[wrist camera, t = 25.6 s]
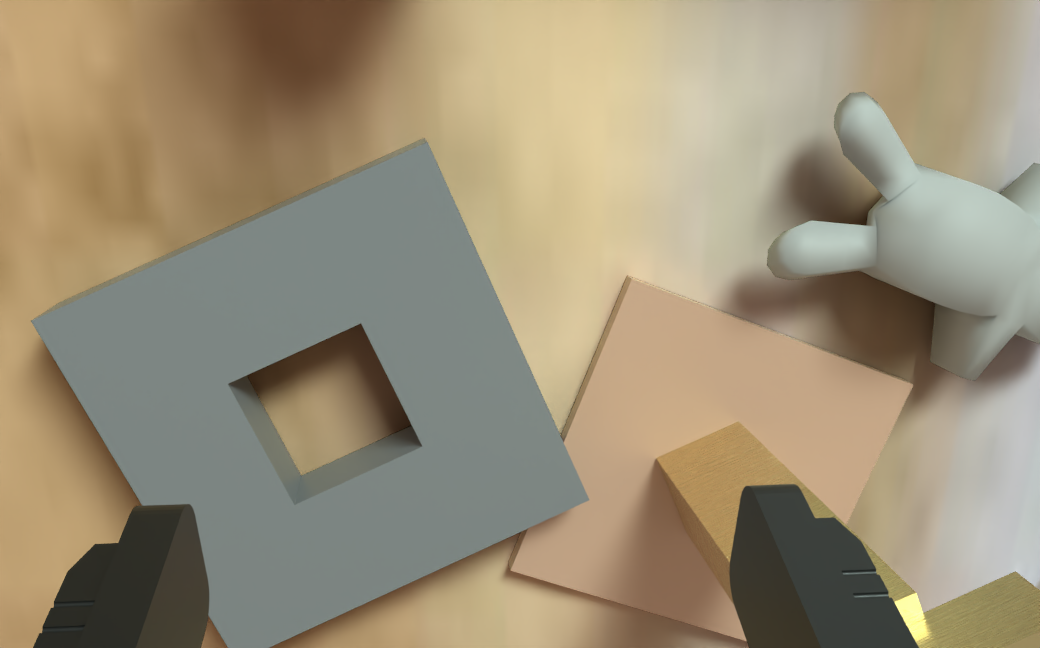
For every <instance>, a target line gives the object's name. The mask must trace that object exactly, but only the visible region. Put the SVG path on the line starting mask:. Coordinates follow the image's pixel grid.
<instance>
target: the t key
mask: <svg viewBox="0 0 1040 648" xmlns="http://www.w3.org/2000/svg"><path fill="white" fill-rule="evenodd" d="M656 460H657V462H658V465H659V467H660V469H661V472H662V474H663V477H664V479H665V482H666V484H667V487H668V489H669V491H670V494H671V496H672V499H673V501H674V504H675V506H676V509H677V511H678V513H679V516H680V518H681V521H682V523H683V526H684V528H685V531H686V533H687V535H688V536H689V538H690V539H691V541H692V542H693V544H694V545H695V547H696V548H697V550H698V551H699V553H700V554H701V556H702V557H703V559H704V561H705V562H706V564H707V565H708V567H709V568H710V570H711V571H712V573H713V574H714V576H715V577H716V579H717V580H718V582H719V583H720V585H721V586H722V588H723V589H724V591H725V592H726V594H727V595H728V597H729V598H730V600H731V602H732V603H733V599H732V594H731V587H730V575H729V568H730V558H731V552H732V546H733V540H734V534H735V528H736V522H737V516H738V510H739V504H740V498H741V494H742V491H743V489H744V487H745V486H751V485H778V484H796V485H797V486H798V487H799V488H800V489H801V491H802V493H803V495H804V497H805V499H806V501H807V503H808V505H809V507H810V509H811V511H812V513H813V515H814V517H815V518H832V517H834V518H836V519H837V520H838V521H839V522H840V523H841V524H842V525H843V526H845V527H846V528H847V529H848V530H849V531H850V532H851V533H852V534H854V535H855V536H856V537H857V538H858V539H859V540H860V541H861V542H862V544H863V545H864V547H865V549H866V551H867V553H868V555H869V556H870V558H871V560H872V562H873V564H874V566H875V567H876V573H877V575H880V577H881V579H882V580H883V582H884V584H885V586H886V588H887V590H888V591H889V593H888V594H889V598H892V599H893V601H894V603H895V604H896V606H897V608H898V610H899V612H900V614H901V615H902V617H903V619H904V621H905V623H906V625H907V627H908V628H909V630H910V632H911V634H912V636H913V638H914V639H915V641H916V643H917V645H918V647H919V648H1040V590H1039V589H1037V588H1036V587H1035V586H1034V585H1032V584H1031V583H1030V582H1028V581H1027V580H1026V579H1025V578H1023V577H1022V576H1021V575H1019V574H1018V573H1017V572H1016V571H1015V572H1013V573H1011V574H1009V575H1006V576H1004V577H1002V578H1000V579H997V580H995V581H993V582H991V583H989V584H986V585H984V586H982V587H980V588H978V589H975V590H973V591H971V592H969V593H967V594H964V595H962V596H960V597H958V598H955V599H953V600H951V601H949V602H947V603H944V604H942V605H940V606H938V607H936V608H933V609H931V610H929V611H927V612H925V613H923V612H922V609H921V606H920V603H919V600H918V597H917V594H916V592H915V591H914V590H913V589H912V588H911V587H910V586H909V585H908V584H907V583H906V582H905V581H904V580H902V579H901V578H900V577H899V576H898V575H897V574H896V573H895V572H894V571H893V570H892V569H891V568H890V567H889V566H888V565H887V564H886V563H885V562H884V561H883V560H882V559H881V558H880V557H879V556H878V555H877V554H876V553H875V552H874V551H872V550H871V549H870V548H869V547H868V546H867V545H866V544H865V543H864V542H863V541H862V540H861V539H860V538H859V537H858V536H857V535H856V534H855V533H854V532H853V531H852V530H851V529H850V528H849V527H848V526H847V525H846V524H845V523H844V522H842V521H841V520H840V519H839V518H838V517H837V516H836V515H835V514H834V513H833V512H832V511H831V510H830V509H829V508H828V507H827V506H826V505H825V504H824V503H823V502H822V501H821V500H820V499H819V498H818V497H817V496H816V495H815V494H814V493H813V492H811V491H810V490H809V489H808V488H807V487H806V486H805V485H804V484H803V483H802V482H801V481H800V480H799V479H798V478H797V477H796V476H795V475H794V474H793V473H792V472H791V471H790V470H789V469H788V468H787V467H786V466H785V465H784V464H783V463H781V462H780V461H779V460H778V459H777V458H776V457H775V456H774V455H773V454H772V453H771V452H770V451H769V450H768V449H767V448H766V447H765V446H764V445H763V444H762V443H761V442H760V441H759V440H758V439H757V438H756V437H755V436H754V435H753V434H751V433H750V432H749V431H748V430H747V429H746V428H745V427H744V426H743V425H742V424H741V423H740V422H739V421H738V422H736V423H733V424H731V425H729V426H727V427H724V428H722V429H720V430H718V431H715V432H713V433H711V434H709V435H707V436H704V437H702V438H700V439H698V440H695V441H693V442H691V443H689V444H686V445H684V446H682V447H680V448H677V449H675V450H673V451H671V452H668V453H666V454H664V455H662V456H659V457H657V458H656ZM733 605H734V603H733Z"/></svg>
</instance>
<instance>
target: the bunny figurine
mask: <svg viewBox="0 0 1040 648" xmlns="http://www.w3.org/2000/svg"><path fill="white" fill-rule="evenodd" d="M834 128H835V131H836V133H837V135H838V138H839V140H840V144H841V147H842V151H843V154H844V155H845V156H846V157H847V158H848V159H849V160H850V161H851V162H852V163H853V165H854V166H855V167H856V168H857V169H858V170H859V171H860V172H861V173H862V174H863V175H864V176H865V177H866V178H867V179H868V180H869V181H870V182H871V183H872V184H873V185H874V186H875V187H876V188H877V189H878V190H879V191H880V193H881V194H882V195H883V196H882V197H881V199H880V200H879V201H878V202H877V203H876V204H875V205H874V206H873V207H872V208H871V210H870V211H869V212H868V218H867V224H866V226H864V225H854V224H843V223H832V222H821V221H809V222H806V223H804V224H801V225H799V226H796V227H794V228H792V229H790V230H788V231H785V232H783V233H782V234H781V235H780V236H779V237H778V238H776V239H775V240H774V242H773V243H772V245H771V246H770V248H769V249H768V258H767V266H768V267H769V269H770V270H771V271H772V273H773V274H774V276H775V277H779V278H783V279H788V280H794V279H802V278H809V277H816V276H824V275H831V274H838V273H846V272H853V271H861V272H864V273H866V274H868V275H869V276H871V277H873V278H875V279H878V280H880V281H882V282H885V283H887V284H890V285H892V286H895V287H897V288H900V289H902V290H905V291H907V292H909V293H912V294H914V295H917V296H919V297H922V298H924V299H927V300H929V301H932V302H934V303H935V315H934V325H933V336H932V346H931V357H930V362H932V363H934V364H936V365H938V366H940V367H942V368H944V369H946V370H948V371H950V372H952V373H954V374H956V375H958V376H960V377H962V378H965V379H969V380H973V381H975V380H976V379H977V378H978V377H979V375H980V374H981V373H982V372H983V371H984V370H985V368H986V367H987V366H988V365H989V364H990V362H991V361H992V360H993V359H994V358H995V357H996V355H997V354H998V353H999V352H1000V351H1001V349H1002V348H1003V347H1004V346H1005V345H1006V344H1007V342H1008V341H1009V340H1010V339H1011V338H1012V337H1013V336H1014V335H1015V334H1016V335H1018V336H1021V337H1023V338H1026V339H1028V340H1030V341H1033V342H1035V343H1038V344H1040V164H1037V163H1034V164H1032V165H1031V166H1030V167H1029V168H1028V169H1027V170H1026V171H1025V172H1024V173H1023V174H1021V175H1020V176H1019V177H1018V178H1017V179H1016V180H1015V181H1014V182H1013V183H1012V184H1011V185H1009V186H1008V187H1007V188H1006V189H1005V190H1004V191H1003V192H1002V193H1001V194H999V193H996V192H994V191H992V190H989V189H987V188H984V187H982V186H979V185H977V184H974V183H971V182H968V181H965V180H962V179H959V178H956V177H953V176H951V175H948V174H945V173H942V172H939V171H936V170H933V169H930V168H927V167H924V166H921V165H919V164H916V163H914V162H913V160H912V159H911V157H910V155H909V154H908V152H907V150H906V148H905V147H904V145H903V143H902V142H901V140H900V138H899V137H898V135H897V133H896V131H895V130H894V128H893V126H892V125H891V123H890V121H889V120H888V118H887V116H886V115H885V113H884V112H883V110H882V109H881V107H880V105H879V104H878V102H877V101H875V100H874V99H873V98H871V97H870V96H869V95H868V94H866V93H865V92H860V93H850V94H849V95H848V96H846V97H845V98H844V99H843V100H842V101H841V102H840V103H839V104H838V107H837V110H836V112H835V118H834Z"/></svg>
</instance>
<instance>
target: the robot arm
mask: <svg viewBox="0 0 1040 648" xmlns="http://www.w3.org/2000/svg"><path fill="white" fill-rule="evenodd" d="M729 575H730V587H731V594H732V599H733V603H734V606H735V609H736V612H737V615H738V617H739V620H740V623H741V626H742V629H743V632H744V635H745V637H746V640H747V643H748V646H749V648H919V647H918V645H917V643H916V641H915V639H914V638H913V636H912V634H911V632H910V630H909V628H908V627H907V625H906V623H905V621H904V619H903V617H902V615H901V614H900V612H899V610H898V608H897V606H896V604H895V603H894V601H893V599H892V598H889V594H888V593H889V591H888V590H887V588H886V586H885V584H884V582H883V580H882V579H881V577H880V575H877V573H876V567H875V566H874V564H873V562H872V560H871V558H870V556H869V555H868V553H867V551H866V549H865V547H864V545H863V544H862V542H861V541H860V540H859V539H858V538H857V537H856V536H855V535H854V534H852V533H851V532H850V531H849V530H848V529H847V528H846V527H845V526H843V525H842V524H841V523H840V522H839V521H838V520H837V519H836V518H834V517H832V518H815V517H814V515H813V513H812V511H811V509H810V507H809V505H808V503H807V501H806V499H805V497H804V495H803V493H802V491H801V489H800V488H799V487H798V486H797V485H796V484H778V485H751V486H745V487H744V489H743V491H742V494H741V498H740V504H739V510H738V516H737V522H736V528H735V534H734V540H733V546H732V552H731V558H730V568H729ZM208 613H209V583H208V577H207V572H206V567H205V562H204V557H203V552H202V547H201V542H200V537H199V532H198V527H197V522H196V517H195V513H194V510H193V508H192V506H191V505H190V504H175V505H147V506H136V507H135V508H134V509H133V510H132V512H131V514H130V516H129V518H128V521H127V523H126V526H125V528H124V530H123V533H122V535H121V538H120V540H119V543H111V544H95V545H94V546H93V547H92V548H91V549H90V550H89V551H88V552H87V553H86V554H85V555H84V556H83V557H82V558H81V559H80V560H79V561H78V562H77V563H76V564H75V565H74V566H73V567H72V568H71V569H70V570H69V571H68V572H67V574H66V576H65V579H64V581H63V583H62V585H61V587H60V590H59V592H58V594H57V596H56V598H55V601H54V608H51V609H50V612H49V614H48V616H47V618H46V620H45V623H44V625H43V631H42V633H39V636H38V638H37V640H36V642H35V644H34V647H33V648H201V645H202V641H203V637H204V634H205V630H206V626H207V621H208Z"/></svg>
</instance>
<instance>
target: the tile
mask: <svg viewBox="0 0 1040 648" xmlns="http://www.w3.org/2000/svg"><path fill="white" fill-rule="evenodd" d="M912 387H913V384H911V383H909V382H908V381H906V380H904V379H901V378H899V377H896V376H893V375H891V374H888V373H885V372H883V371H880V370H877V369H875V368H872V367H869V366H867V365H864V364H861V363H859V362H856V361H853V360H851V359H848V358H845V357H843V356H840V355H837V354H835V353H832V352H829V351H827V350H824V349H821V348H819V347H816V346H814V345H811V344H808V343H806V342H803V341H800V340H798V339H795V338H792V337H790V336H787V335H784V334H782V333H779V332H776V331H774V330H771V329H768V328H766V327H763V326H760V325H758V324H755V323H752V322H750V321H747V320H744V319H742V318H739V317H736V316H734V315H731V314H728V313H726V312H723V311H720V310H718V309H715V308H712V307H710V306H707V305H704V304H702V303H699V302H696V301H694V300H691V299H688V298H686V297H683V296H680V295H678V294H675V293H672V292H670V291H667V290H664V289H662V288H659V287H656V286H654V285H651V284H648V283H646V282H643V281H640V280H638V279H635V278H632V277H630V276H627V278H626V280H625V282H624V285H623V287H622V290H621V292H620V294H619V297H618V299H617V302H616V304H615V307H614V309H613V311H612V314H611V316H610V319H609V321H608V323H607V326H606V328H605V331H604V333H603V335H602V338H601V340H600V343H599V345H598V347H597V350H596V352H595V355H594V357H593V360H592V362H591V364H590V367H589V369H588V372H587V374H586V376H585V379H584V381H583V384H582V386H581V388H580V391H579V393H578V396H577V398H576V400H575V403H574V405H573V408H572V410H571V413H570V415H569V417H568V420H567V422H566V425H565V427H564V429H563V432H562V434H561V438H562V440H563V443H564V445H565V447H566V449H567V451H568V454H569V456H570V458H571V460H572V462H573V465H574V467H575V469H576V471H577V473H578V476H579V478H580V480H581V482H582V484H583V487H584V489H585V491H586V493H587V495H588V498H589V501H587V502H584V503H582V504H580V505H578V506H576V507H574V508H571V509H569V510H567V511H565V512H563V513H561V514H558V515H556V516H554V517H552V518H550V519H547V520H545V521H543V522H541V523H539V524H537V525H534V526H532V527H530V528H528V529H526V530H524V531H521V533H520V535H519V538H518V540H517V543H516V545H515V547H514V550H513V552H512V555H511V557H510V560H509V567H510V571H513V572H517V573H520V574H523V575H527V576H530V577H533V578H537V579H540V580H543V581H547V582H550V583H553V584H557V585H560V586H563V587H567V588H570V589H574V590H577V591H580V592H584V593H587V594H590V595H594V596H597V597H600V598H604V599H607V600H610V601H614V602H617V603H620V604H624V605H627V606H630V607H634V608H637V609H640V610H644V611H647V612H650V613H654V614H657V615H660V616H664V617H667V618H670V619H674V620H677V621H680V622H684V623H687V624H690V625H694V626H697V627H701V628H704V629H707V630H711V631H714V632H717V633H721V634H724V635H727V636H731V637H734V638H737V639H741V640H744V641H747V640H746V637H745V635H744V632H743V629H742V626H741V623H740V620H739V617H738V615H737V612H736V609H735V606H734V605H733V603H732V602H731V600H730V598H729V597H728V595H727V594H726V592H725V591H724V589H723V588H722V586H721V585H720V583H719V582H718V580H717V579H716V577H715V576H714V574H713V573H712V571H711V570H710V568H709V567H708V565H707V564H706V562H705V561H704V559H703V557H702V556H701V554H700V553H699V551H698V550H697V548H696V547H695V545H694V544H693V542H692V541H691V539H690V538H689V536H688V535H687V533H686V531H685V528H684V526H683V523H682V521H681V518H680V516H679V513H678V511H677V509H676V506H675V504H674V501H673V499H672V496H671V494H670V491H669V489H668V487H667V484H666V482H665V479H664V477H663V474H662V472H661V469H660V467H659V465H658V462H657V460H656V458H657V457H659V456H662V455H664V454H666V453H668V452H671V451H673V450H675V449H677V448H680V447H682V446H684V445H686V444H689V443H691V442H693V441H695V440H698V439H700V438H702V437H704V436H707V435H709V434H711V433H713V432H715V431H718V430H720V429H722V428H724V427H727V426H729V425H731V424H733V423H736V422H738V421H739V422H740V423H741V424H742V425H743V426H744V427H745V428H746V429H747V430H748V431H749V432H750V433H751V434H753V435H754V436H755V437H756V438H757V439H758V440H759V441H760V442H761V443H762V444H763V445H764V446H765V447H766V448H767V449H768V450H769V451H770V452H771V453H772V454H773V455H774V456H775V457H776V458H777V459H778V460H779V461H780V462H781V463H783V464H784V465H785V466H786V467H787V468H788V469H789V470H790V471H791V472H792V473H793V474H794V475H795V476H796V477H797V478H798V479H799V480H800V481H801V482H802V483H803V484H804V485H805V486H806V487H807V488H808V489H809V490H810V491H811V492H813V493H814V494H815V495H816V496H817V497H818V498H819V499H820V500H821V501H822V502H823V503H824V504H825V505H826V506H827V507H828V508H829V509H830V510H831V511H832V512H833V513H834V514H835V515H836V516H837V517H838V518H839V519H840V520H841V521H842V522H844V523H845V524H847V522H848V520H849V518H850V516H851V514H852V512H853V510H854V507H855V505H856V503H857V501H858V499H859V497H860V495H861V493H862V491H863V489H864V487H865V485H866V483H867V480H868V478H869V476H870V474H871V472H872V470H873V468H874V466H875V464H876V462H877V460H878V458H879V456H880V454H881V451H882V449H883V447H884V445H885V443H886V441H887V439H888V437H889V435H890V433H891V431H892V429H893V427H894V424H895V422H896V420H897V418H898V416H899V414H900V412H901V410H902V408H903V406H904V404H905V402H906V400H907V397H908V395H909V393H910V391H911V389H912Z"/></svg>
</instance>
